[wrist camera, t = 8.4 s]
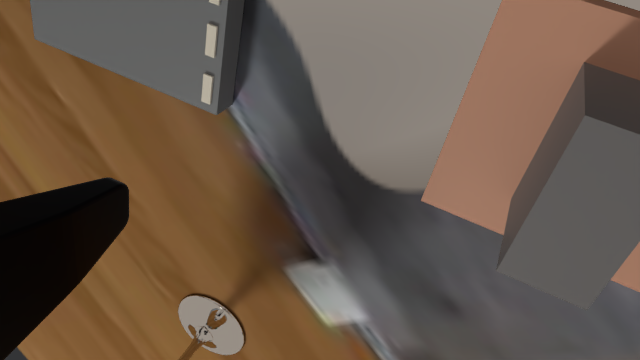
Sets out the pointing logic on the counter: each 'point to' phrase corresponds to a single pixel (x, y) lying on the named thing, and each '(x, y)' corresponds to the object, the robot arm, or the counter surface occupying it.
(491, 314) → the counter surface
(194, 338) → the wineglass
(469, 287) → the counter surface
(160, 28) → the panel
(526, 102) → the stub
